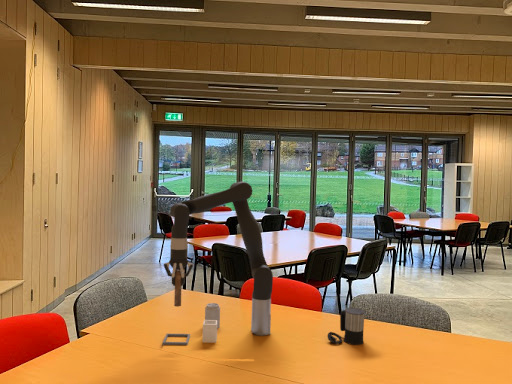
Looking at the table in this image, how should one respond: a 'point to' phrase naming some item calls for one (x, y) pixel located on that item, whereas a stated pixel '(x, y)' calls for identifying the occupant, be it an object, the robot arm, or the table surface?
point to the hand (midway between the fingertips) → (178, 285)
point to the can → (213, 313)
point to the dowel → (177, 288)
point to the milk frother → (350, 327)
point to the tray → (176, 342)
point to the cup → (209, 331)
